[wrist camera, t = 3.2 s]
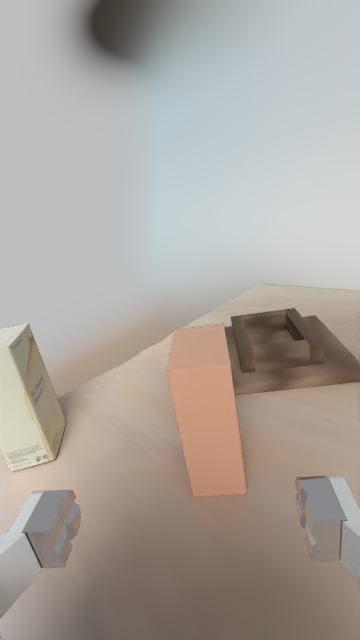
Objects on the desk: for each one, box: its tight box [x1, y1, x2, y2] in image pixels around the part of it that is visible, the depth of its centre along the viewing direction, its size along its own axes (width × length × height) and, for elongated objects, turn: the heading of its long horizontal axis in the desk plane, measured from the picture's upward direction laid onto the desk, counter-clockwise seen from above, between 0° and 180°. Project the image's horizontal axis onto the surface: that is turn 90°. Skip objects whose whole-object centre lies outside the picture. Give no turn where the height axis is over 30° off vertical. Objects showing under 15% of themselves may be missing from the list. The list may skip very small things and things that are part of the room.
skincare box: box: [0, 323, 66, 472], centre depth 30 cm, size 6×4×12 cm
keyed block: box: [166, 323, 247, 497], centre depth 25 cm, size 4×6×11 cm, turn 177°
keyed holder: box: [224, 308, 360, 395], centre depth 41 cm, size 16×16×4 cm
